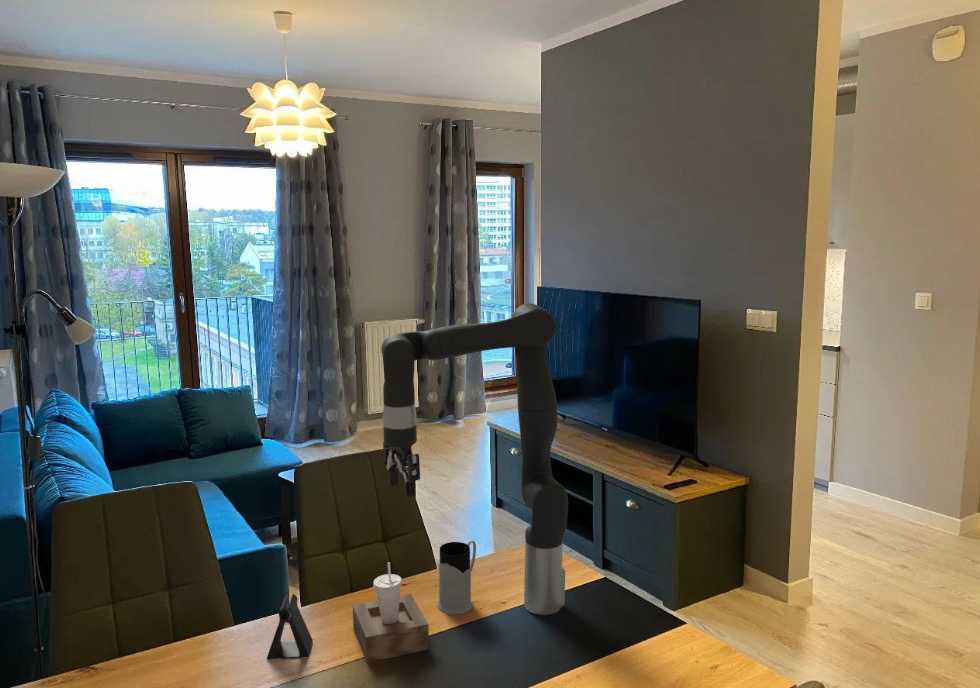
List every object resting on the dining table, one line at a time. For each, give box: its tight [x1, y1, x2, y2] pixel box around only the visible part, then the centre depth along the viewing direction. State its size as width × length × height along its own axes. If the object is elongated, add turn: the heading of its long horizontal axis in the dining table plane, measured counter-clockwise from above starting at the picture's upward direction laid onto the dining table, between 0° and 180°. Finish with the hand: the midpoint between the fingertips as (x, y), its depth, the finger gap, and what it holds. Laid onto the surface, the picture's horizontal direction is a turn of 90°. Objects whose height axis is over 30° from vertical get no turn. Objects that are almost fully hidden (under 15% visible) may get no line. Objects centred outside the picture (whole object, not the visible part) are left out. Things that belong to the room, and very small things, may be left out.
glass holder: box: [436, 540, 477, 615], centre depth 183 cm, size 9×14×15 cm, turn 151°
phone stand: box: [266, 593, 314, 660], centre depth 161 cm, size 9×6×12 cm, turn 95°
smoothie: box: [372, 562, 403, 624], centre depth 165 cm, size 6×6×14 cm
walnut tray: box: [352, 593, 430, 664], centre depth 167 cm, size 14×14×6 cm
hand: (401, 490), depth 169 cm, fingers open, 8 cm apart
